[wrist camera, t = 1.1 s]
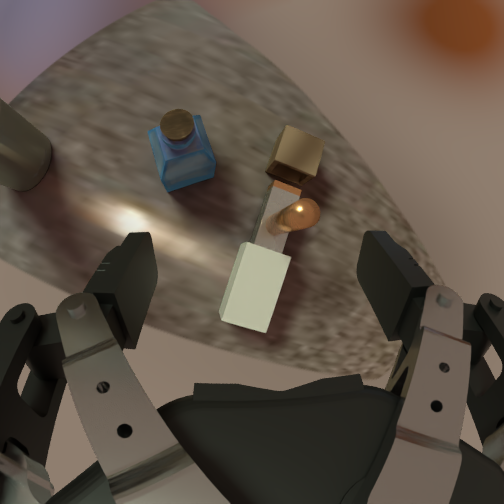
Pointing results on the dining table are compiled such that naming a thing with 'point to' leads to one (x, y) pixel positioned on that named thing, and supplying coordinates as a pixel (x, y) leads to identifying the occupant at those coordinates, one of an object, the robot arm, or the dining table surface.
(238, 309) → the pale white block
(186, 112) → the perfume bottle
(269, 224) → the grey bar with post
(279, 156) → the socket block
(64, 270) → the dining table surface
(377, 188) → the dining table surface
